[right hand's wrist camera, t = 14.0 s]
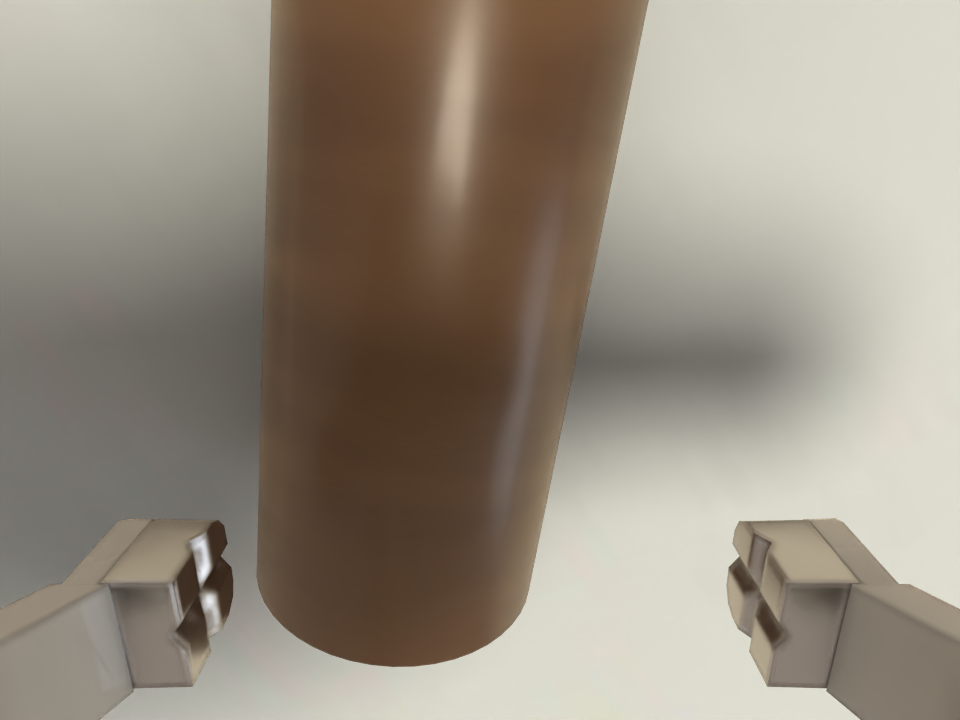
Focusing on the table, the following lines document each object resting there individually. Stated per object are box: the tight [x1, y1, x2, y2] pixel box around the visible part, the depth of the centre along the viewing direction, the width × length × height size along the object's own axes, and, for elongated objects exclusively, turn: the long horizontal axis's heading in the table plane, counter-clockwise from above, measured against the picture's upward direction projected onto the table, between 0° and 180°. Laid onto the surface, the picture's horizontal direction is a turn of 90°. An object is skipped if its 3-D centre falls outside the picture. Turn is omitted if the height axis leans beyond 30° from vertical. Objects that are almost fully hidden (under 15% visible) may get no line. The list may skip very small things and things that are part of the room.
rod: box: [257, 0, 648, 667], centre depth 11 cm, size 22×6×6 cm, turn 172°
